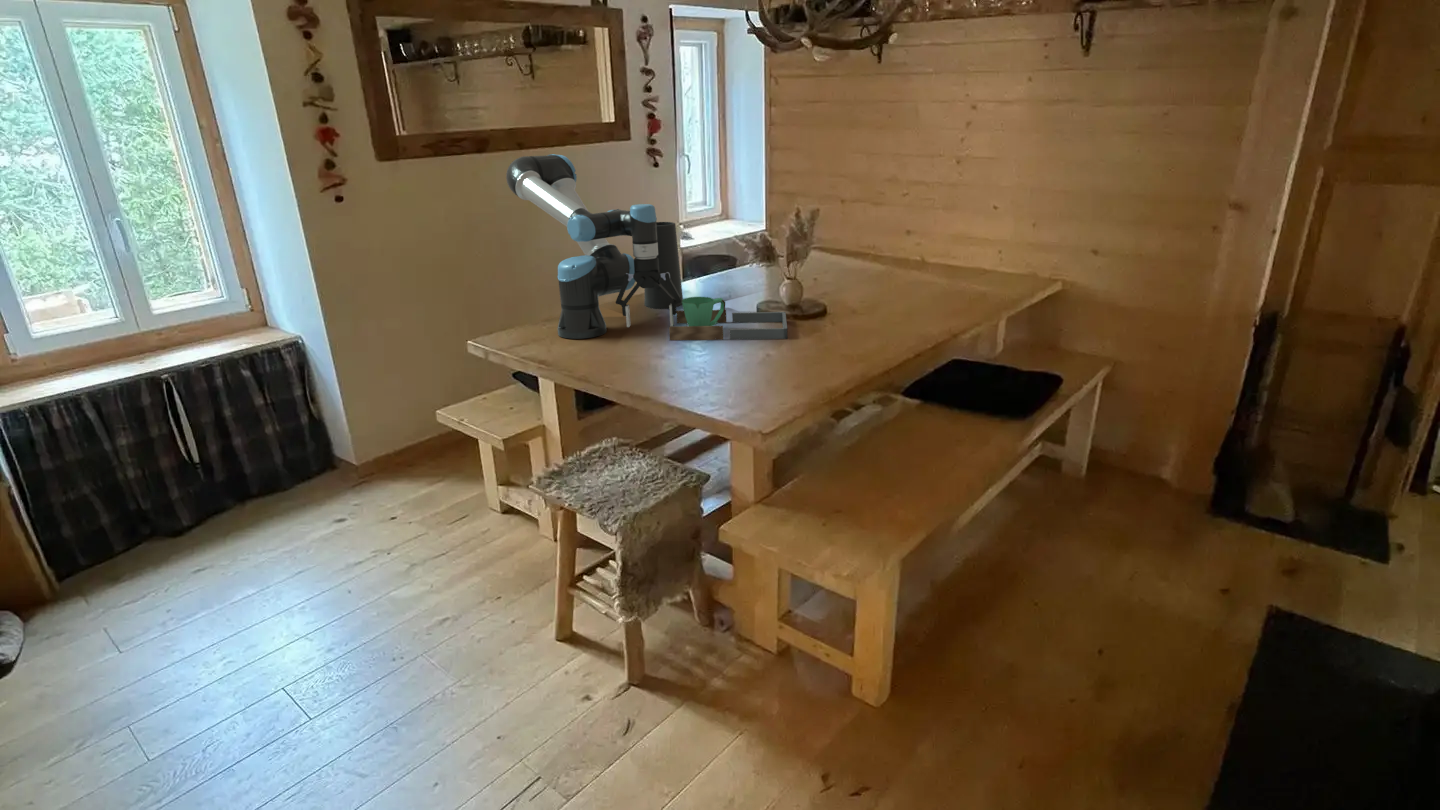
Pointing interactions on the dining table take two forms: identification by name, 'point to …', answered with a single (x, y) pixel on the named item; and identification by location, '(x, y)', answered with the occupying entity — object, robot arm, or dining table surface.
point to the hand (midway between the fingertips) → (650, 325)
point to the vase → (665, 266)
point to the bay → (696, 329)
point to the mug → (702, 310)
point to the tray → (762, 332)
